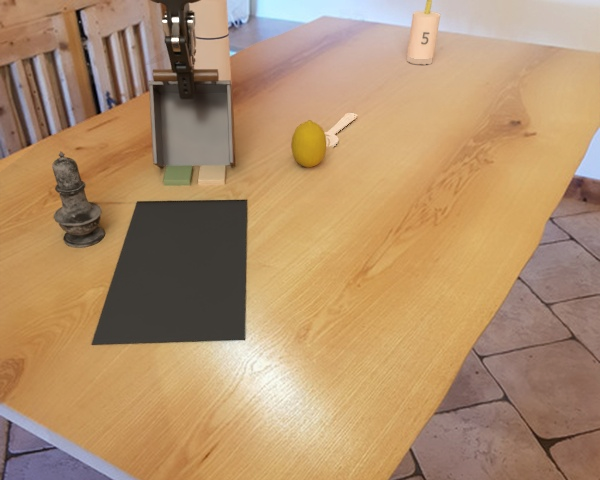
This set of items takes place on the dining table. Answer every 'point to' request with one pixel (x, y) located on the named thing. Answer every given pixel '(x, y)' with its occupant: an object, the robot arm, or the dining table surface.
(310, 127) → the lemon
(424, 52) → the candle
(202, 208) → the mat
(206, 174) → the block
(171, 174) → the block
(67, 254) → the dining table surface
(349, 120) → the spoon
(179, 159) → the basket
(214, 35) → the cylindrical container
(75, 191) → the salt shaker
